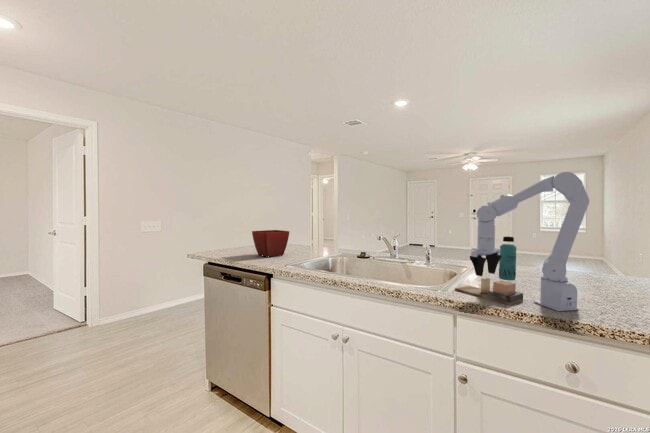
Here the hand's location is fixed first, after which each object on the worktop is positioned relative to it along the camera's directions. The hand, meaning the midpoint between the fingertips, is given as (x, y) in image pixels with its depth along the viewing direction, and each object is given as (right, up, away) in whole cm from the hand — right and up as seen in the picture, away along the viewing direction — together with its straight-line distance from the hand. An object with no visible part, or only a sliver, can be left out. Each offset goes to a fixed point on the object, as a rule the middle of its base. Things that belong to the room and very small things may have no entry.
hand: (485, 274), depth 115 cm
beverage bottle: (+19, -7, +19) cm, 28 cm away
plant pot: (-97, -5, +94) cm, 135 cm away
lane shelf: (0, -8, 0) cm, 8 cm away
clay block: (+2, -7, -3) cm, 8 cm away
